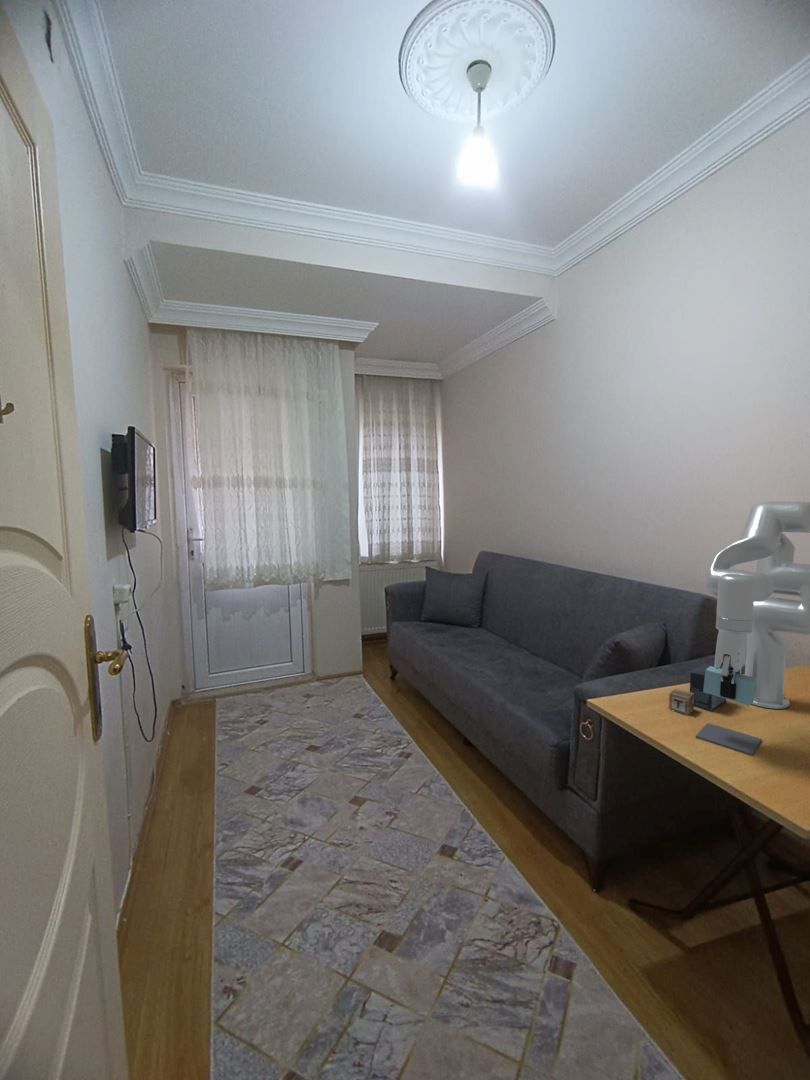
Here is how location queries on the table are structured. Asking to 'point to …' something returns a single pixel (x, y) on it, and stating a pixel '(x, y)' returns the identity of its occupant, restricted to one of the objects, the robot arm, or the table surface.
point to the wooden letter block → (681, 701)
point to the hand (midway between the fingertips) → (730, 694)
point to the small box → (697, 687)
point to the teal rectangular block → (743, 685)
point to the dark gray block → (729, 738)
